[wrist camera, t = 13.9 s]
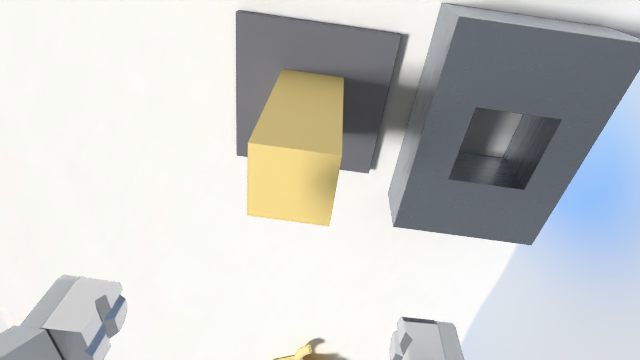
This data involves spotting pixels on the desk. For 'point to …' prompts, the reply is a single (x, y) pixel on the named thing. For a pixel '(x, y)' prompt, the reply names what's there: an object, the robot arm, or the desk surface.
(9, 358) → the robot arm
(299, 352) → the character toy
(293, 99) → the square block
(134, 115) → the desk surface
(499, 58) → the grey block with hole
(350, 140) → the rubber mat
